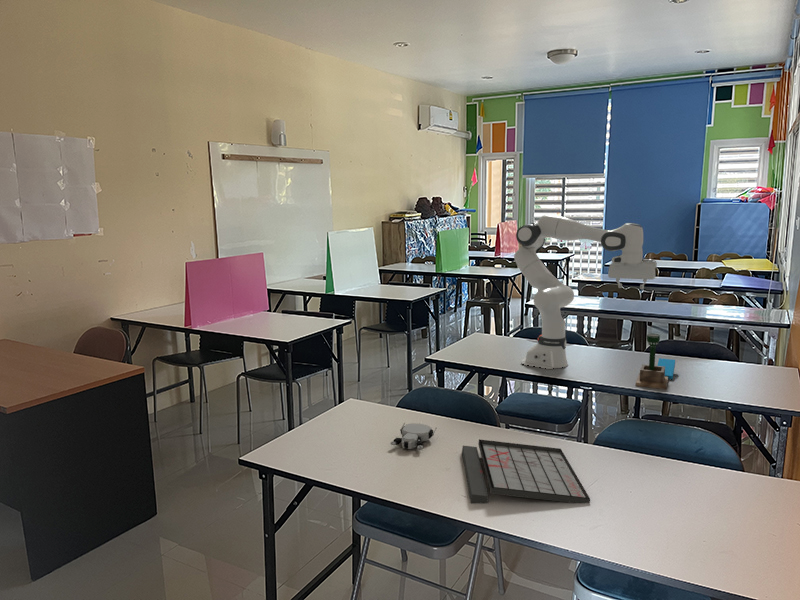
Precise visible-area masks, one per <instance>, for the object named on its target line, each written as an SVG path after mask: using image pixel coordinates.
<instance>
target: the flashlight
mask: <svg viewBox="0 0 800 600" xmlns="http://www.w3.org/2000/svg"><path fill="white" fill-rule="evenodd" d="M660 339H661V335H660V334H658V333H647V335H646V341H647V343H648V345H649V359H648V360H649V361H648V365H649V370H653V371H654V368H655V366H656V364H655V362H656V349H657V348H656V347H657V345H658V344H659V343H660Z"/></svg>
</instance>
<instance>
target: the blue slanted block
mask: <svg viewBox="0 0 800 600" xmlns="http://www.w3.org/2000/svg"><path fill="white" fill-rule="evenodd" d="M656 366H663V367H665V376H668V379H672V380H673V379H674V378H673V377H674V373H675V372H674V371H675V367H676V359H669V358H660V357H659V358H658V362H657V365H656Z"/></svg>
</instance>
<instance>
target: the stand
mask: <svg viewBox="0 0 800 600" xmlns="http://www.w3.org/2000/svg"><path fill="white" fill-rule="evenodd" d="M668 382H669V380H668V376H665V367H663V366H657V365H655V368H654V371H653V370H649V364H641V366H640V369H639V373H638V376H637V379H636V380H635V387H642V388H651V389H658V390H659V389H661V390H667V387H668Z"/></svg>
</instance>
